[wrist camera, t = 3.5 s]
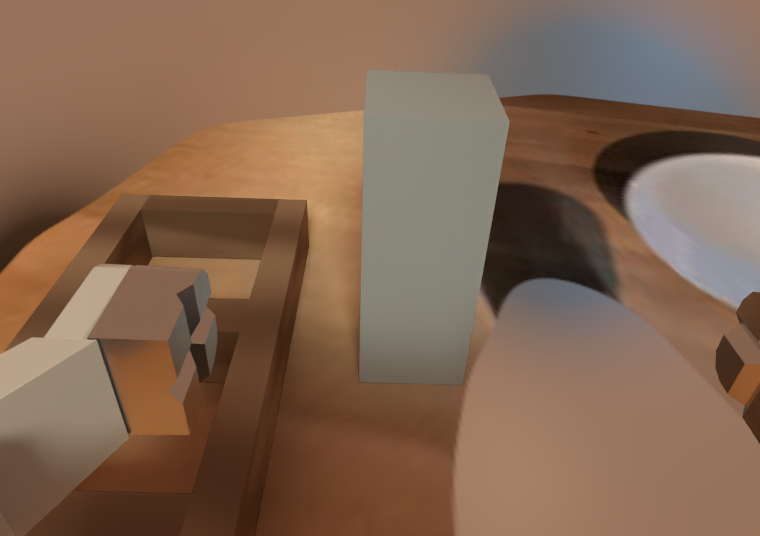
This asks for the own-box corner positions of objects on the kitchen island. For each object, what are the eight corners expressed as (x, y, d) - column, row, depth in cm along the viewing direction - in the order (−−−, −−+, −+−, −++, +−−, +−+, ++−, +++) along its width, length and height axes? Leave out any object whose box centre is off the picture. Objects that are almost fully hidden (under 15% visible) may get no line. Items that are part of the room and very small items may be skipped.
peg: (362, 313, 28) (367, 70, 21) (452, 316, 28) (488, 74, 21) (359, 382, 25) (363, 116, 17) (462, 385, 25) (509, 121, 18)
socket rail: (134, 240, 33) (122, 194, 31) (308, 245, 33) (306, 200, 31) (-85, 586, 17) (-134, 535, 16) (243, 593, 18) (231, 544, 16)
